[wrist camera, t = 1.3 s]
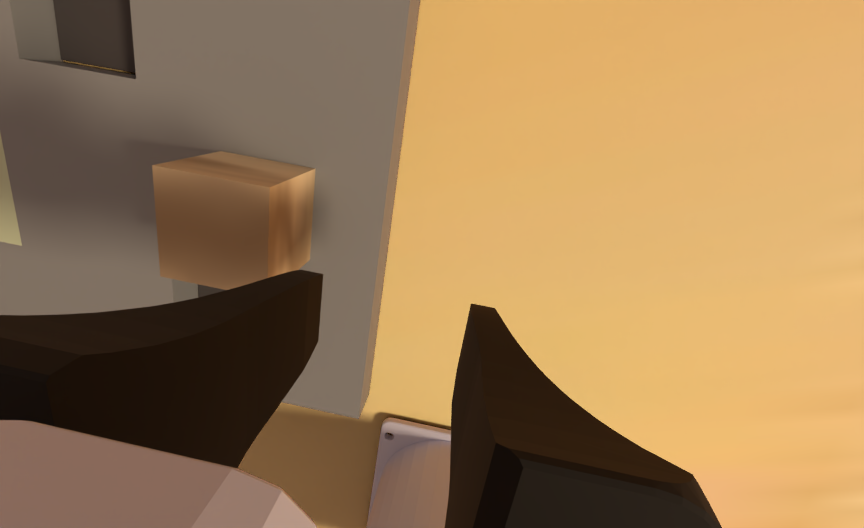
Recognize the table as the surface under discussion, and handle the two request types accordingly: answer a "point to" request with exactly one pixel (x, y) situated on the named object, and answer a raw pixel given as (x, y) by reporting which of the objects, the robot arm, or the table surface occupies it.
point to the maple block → (232, 218)
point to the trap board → (200, 149)
